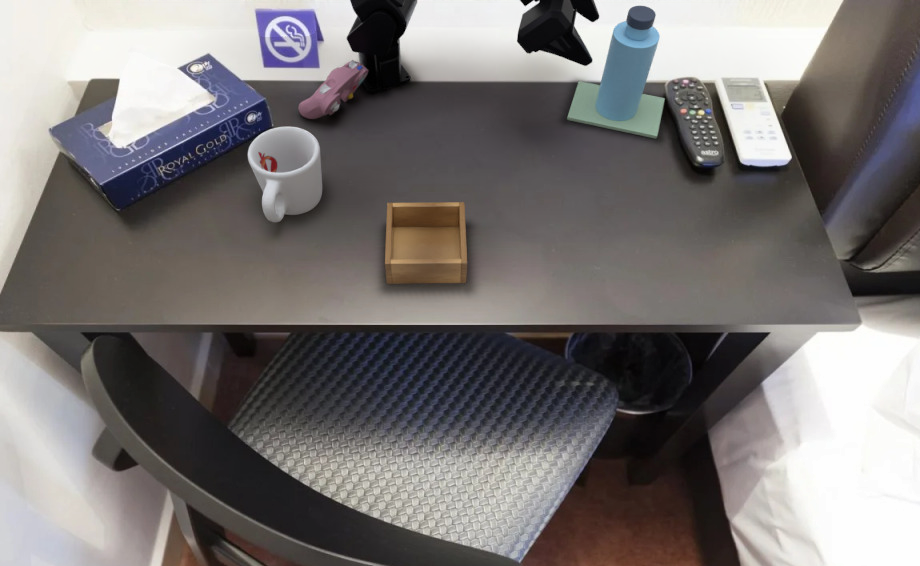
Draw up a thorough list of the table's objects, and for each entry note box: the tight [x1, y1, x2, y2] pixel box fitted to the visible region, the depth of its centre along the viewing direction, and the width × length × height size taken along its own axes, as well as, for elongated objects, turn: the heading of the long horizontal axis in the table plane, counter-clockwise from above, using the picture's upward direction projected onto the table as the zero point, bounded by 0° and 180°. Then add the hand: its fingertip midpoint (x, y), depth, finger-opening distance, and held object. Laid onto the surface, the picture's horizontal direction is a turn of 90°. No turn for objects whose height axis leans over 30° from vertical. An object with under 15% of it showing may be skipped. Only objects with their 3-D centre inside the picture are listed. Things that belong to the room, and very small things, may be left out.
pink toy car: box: [298, 59, 369, 120], centre depth 88 cm, size 10×5×7 cm, turn 148°
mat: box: [566, 80, 666, 140], centre depth 90 cm, size 12×8×1 cm, turn 73°
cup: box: [247, 125, 323, 223], centre depth 77 cm, size 11×8×8 cm
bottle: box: [596, 5, 661, 121], centre depth 84 cm, size 6×6×14 cm
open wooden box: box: [384, 201, 468, 285], centre depth 74 cm, size 9×9×4 cm
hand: (592, 40), depth 83 cm, fingers open, 9 cm apart
